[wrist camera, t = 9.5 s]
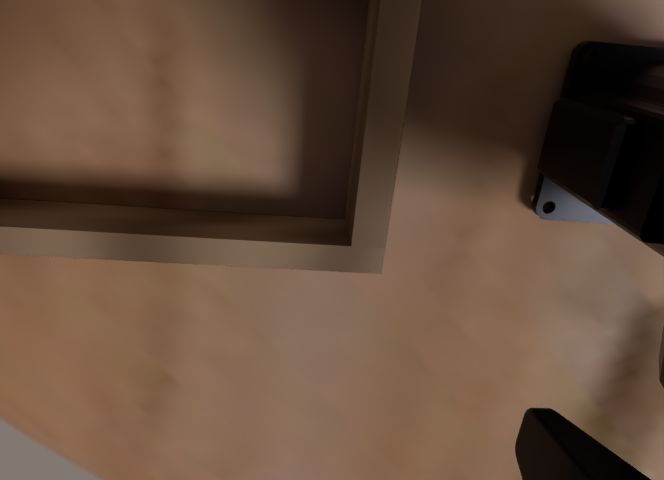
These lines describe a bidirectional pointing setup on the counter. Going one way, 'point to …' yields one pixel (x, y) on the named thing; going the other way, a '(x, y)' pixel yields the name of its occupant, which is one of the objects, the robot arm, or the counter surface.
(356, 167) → the holder frame
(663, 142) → the robot arm
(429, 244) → the counter surface
